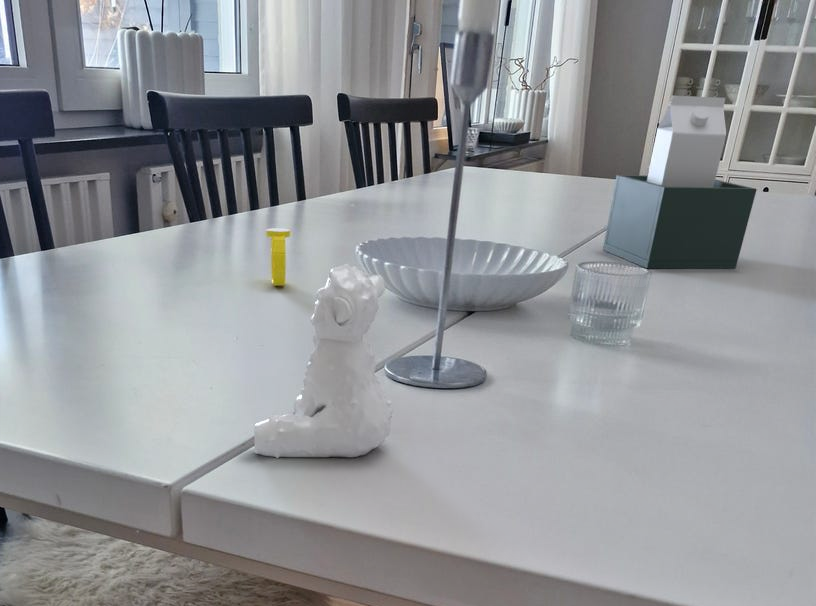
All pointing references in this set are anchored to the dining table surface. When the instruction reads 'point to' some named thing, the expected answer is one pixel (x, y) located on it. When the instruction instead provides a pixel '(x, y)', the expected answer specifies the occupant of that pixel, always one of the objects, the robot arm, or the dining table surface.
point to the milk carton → (689, 143)
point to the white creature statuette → (335, 379)
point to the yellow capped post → (278, 254)
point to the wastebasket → (677, 223)
